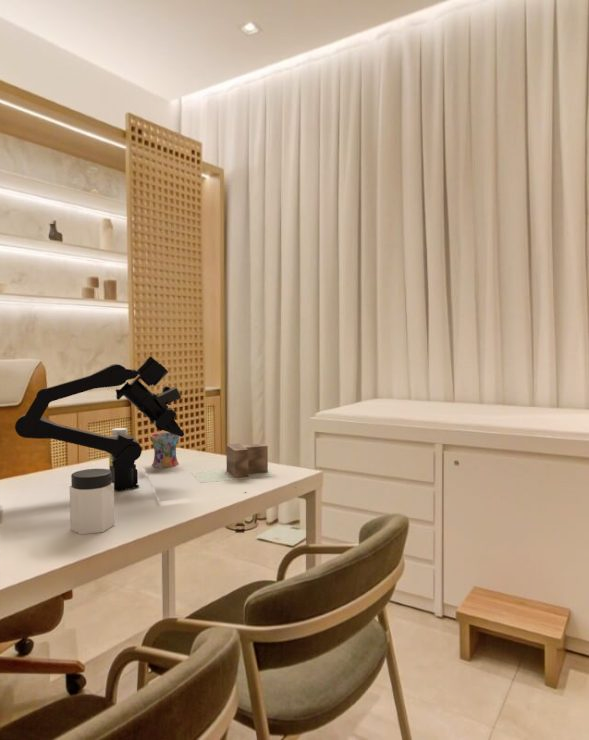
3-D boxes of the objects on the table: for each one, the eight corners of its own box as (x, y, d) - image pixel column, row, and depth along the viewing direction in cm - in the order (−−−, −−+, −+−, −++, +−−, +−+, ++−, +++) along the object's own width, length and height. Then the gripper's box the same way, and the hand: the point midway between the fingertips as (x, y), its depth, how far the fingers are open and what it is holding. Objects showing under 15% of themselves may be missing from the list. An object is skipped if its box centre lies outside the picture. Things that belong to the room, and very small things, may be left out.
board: (199, 486, 150) (199, 482, 150) (191, 475, 162) (191, 472, 162) (276, 478, 158) (276, 475, 158) (262, 469, 170) (262, 466, 170)
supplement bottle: (132, 470, 169) (131, 429, 169) (109, 472, 167) (109, 431, 166) (130, 465, 176) (129, 426, 175) (108, 467, 173) (108, 428, 173)
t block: (235, 478, 155) (234, 450, 155) (226, 470, 164) (226, 444, 164) (271, 474, 159) (271, 447, 158) (260, 467, 168) (260, 442, 168)
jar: (120, 527, 116) (119, 472, 115) (84, 537, 110) (83, 479, 109) (100, 518, 122) (99, 466, 121) (65, 527, 116) (63, 472, 116)
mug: (175, 471, 168) (174, 437, 167) (146, 471, 168) (145, 437, 168) (185, 463, 180) (185, 431, 179) (158, 462, 180) (158, 431, 180)
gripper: (168, 379, 143) (209, 418, 147) (159, 376, 160) (196, 411, 164) (137, 410, 140) (181, 449, 145) (131, 403, 157) (170, 438, 162)
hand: (183, 435), depth 154 cm, fingers closed
